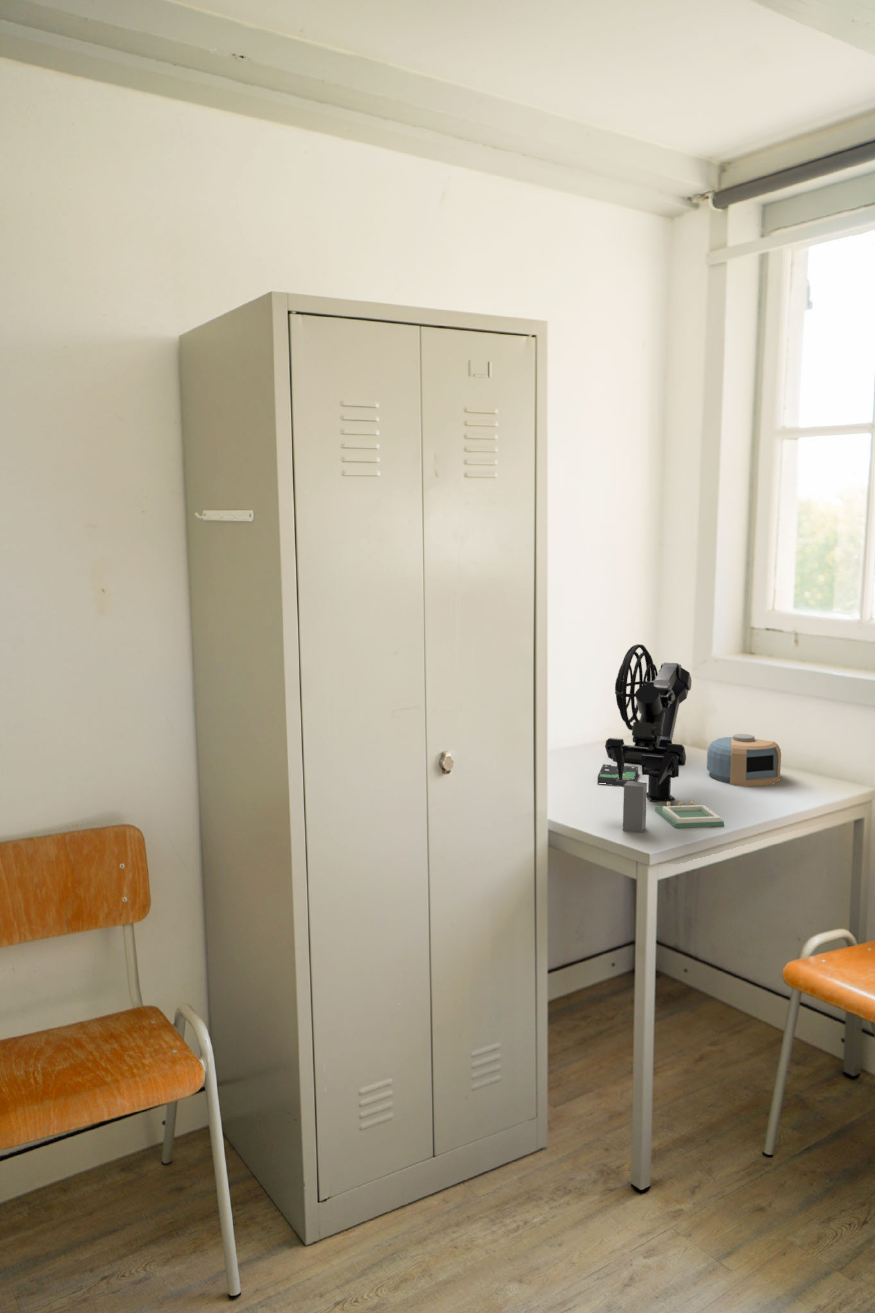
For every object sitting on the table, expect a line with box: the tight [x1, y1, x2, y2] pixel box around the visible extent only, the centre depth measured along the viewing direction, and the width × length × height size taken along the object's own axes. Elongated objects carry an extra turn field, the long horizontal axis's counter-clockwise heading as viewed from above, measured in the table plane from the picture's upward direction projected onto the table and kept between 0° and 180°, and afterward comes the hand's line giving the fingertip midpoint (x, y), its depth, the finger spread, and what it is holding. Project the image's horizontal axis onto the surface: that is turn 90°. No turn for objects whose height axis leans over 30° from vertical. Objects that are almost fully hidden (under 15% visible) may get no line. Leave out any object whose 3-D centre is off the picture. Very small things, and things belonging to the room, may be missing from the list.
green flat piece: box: [654, 800, 725, 829], centre depth 233 cm, size 14×12×2 cm
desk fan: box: [614, 644, 659, 764], centre depth 293 cm, size 27×18×35 cm, turn 152°
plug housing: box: [622, 781, 648, 834], centre depth 224 cm, size 4×4×11 cm
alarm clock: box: [706, 733, 782, 787], centre depth 271 cm, size 19×20×12 cm
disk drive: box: [597, 763, 639, 786], centre depth 270 cm, size 10×3×15 cm
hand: (639, 781), depth 226 cm, fingers open, 9 cm apart
